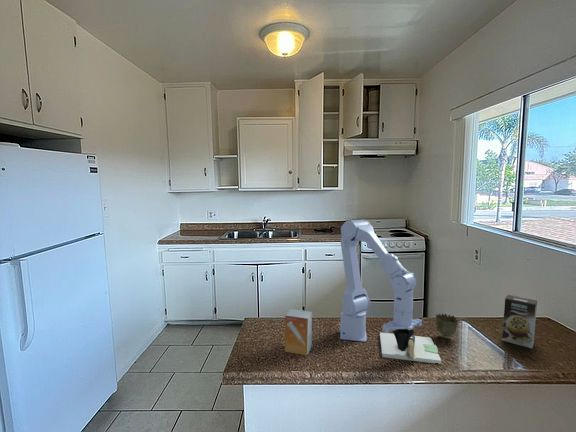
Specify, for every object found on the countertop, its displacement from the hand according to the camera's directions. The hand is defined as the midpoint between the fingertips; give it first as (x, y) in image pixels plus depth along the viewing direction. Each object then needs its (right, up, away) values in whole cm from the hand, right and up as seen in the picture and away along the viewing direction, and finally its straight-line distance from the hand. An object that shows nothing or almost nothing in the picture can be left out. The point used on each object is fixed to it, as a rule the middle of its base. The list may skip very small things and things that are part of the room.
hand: (401, 349), depth 104 cm
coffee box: (+47, -2, +11) cm, 48 cm away
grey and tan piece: (+4, -1, +3) cm, 4 cm away
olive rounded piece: (+22, -2, +14) cm, 26 cm away
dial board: (+4, -2, +6) cm, 8 cm away
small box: (-34, -2, +5) cm, 34 cm away
